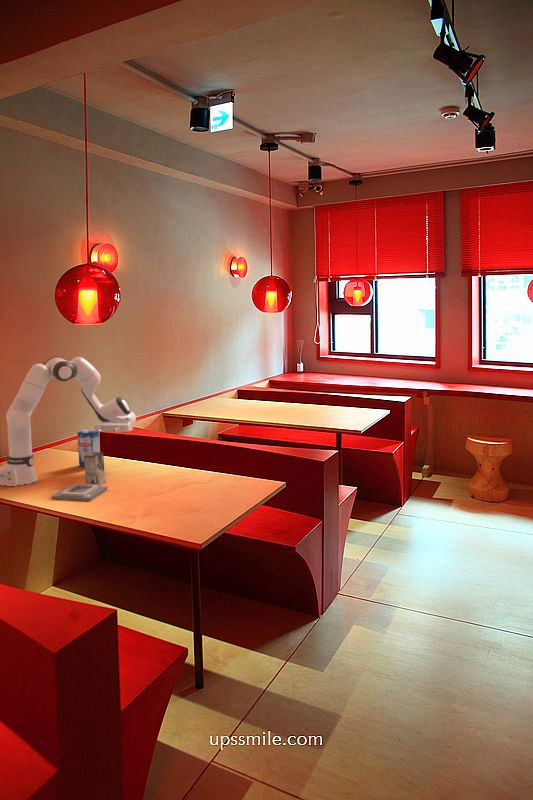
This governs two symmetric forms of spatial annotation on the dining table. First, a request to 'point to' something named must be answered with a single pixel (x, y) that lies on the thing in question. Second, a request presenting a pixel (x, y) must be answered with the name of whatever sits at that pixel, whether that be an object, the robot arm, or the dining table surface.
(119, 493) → the dining table surface
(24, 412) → the robot arm
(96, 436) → the milk carton
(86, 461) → the coffee box
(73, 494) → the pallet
